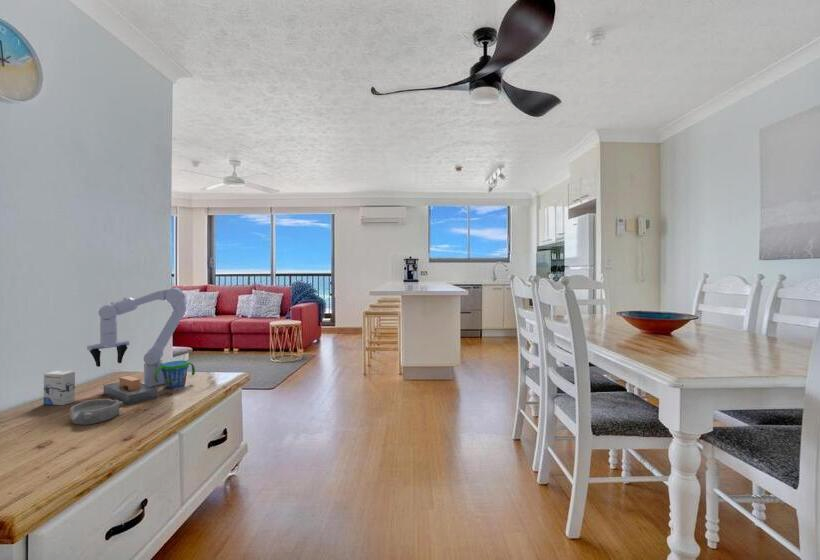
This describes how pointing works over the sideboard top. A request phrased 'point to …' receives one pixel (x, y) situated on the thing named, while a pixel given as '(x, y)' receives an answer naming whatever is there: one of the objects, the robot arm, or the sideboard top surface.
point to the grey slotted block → (130, 393)
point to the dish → (94, 411)
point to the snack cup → (174, 373)
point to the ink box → (59, 387)
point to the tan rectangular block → (129, 382)
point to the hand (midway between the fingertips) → (109, 364)
